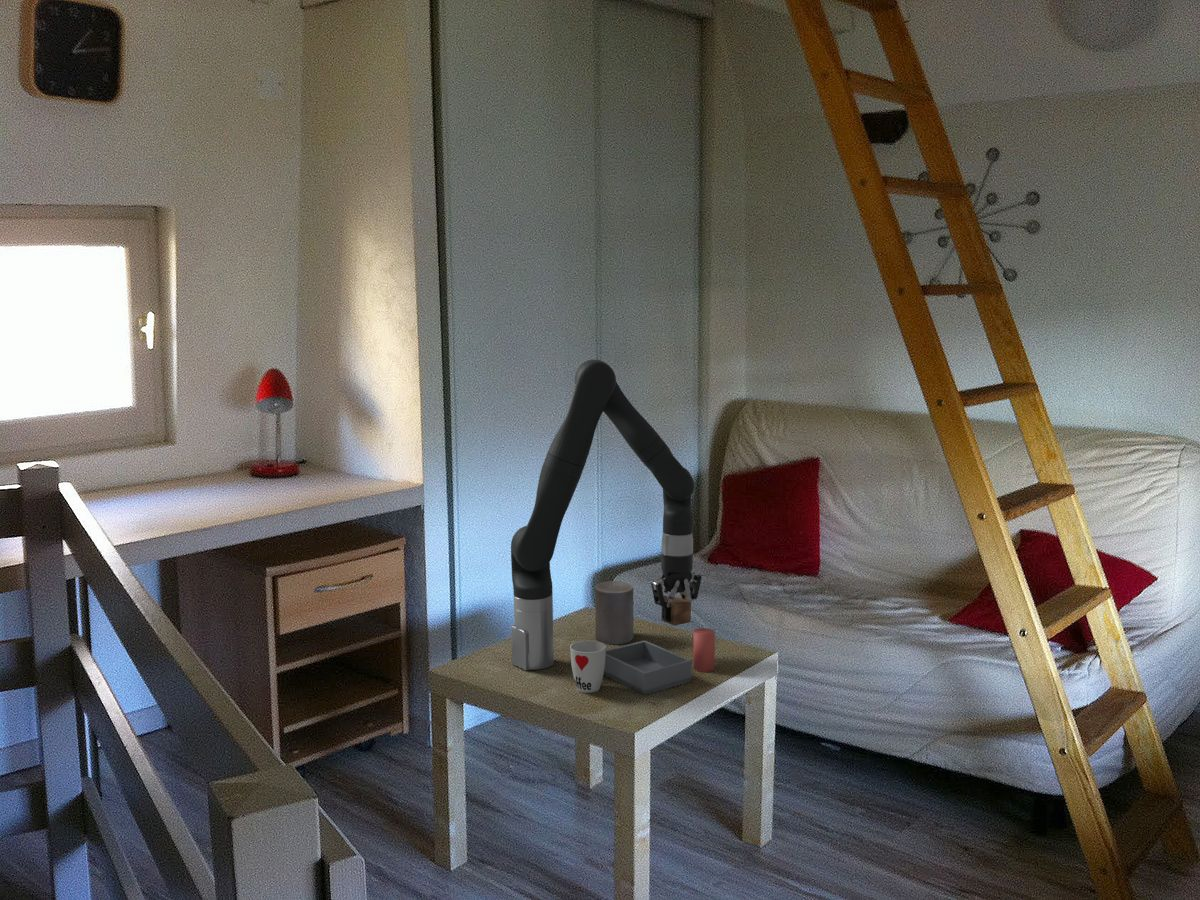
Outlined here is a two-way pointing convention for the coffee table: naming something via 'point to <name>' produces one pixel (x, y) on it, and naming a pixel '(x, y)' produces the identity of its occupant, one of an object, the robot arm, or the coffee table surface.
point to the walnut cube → (679, 611)
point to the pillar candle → (614, 612)
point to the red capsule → (704, 649)
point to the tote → (647, 667)
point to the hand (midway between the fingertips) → (675, 619)
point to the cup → (588, 664)
